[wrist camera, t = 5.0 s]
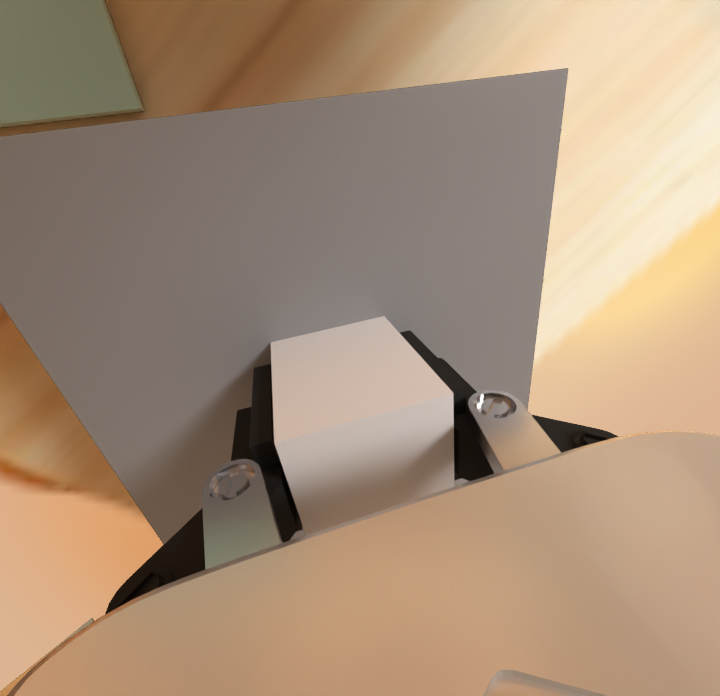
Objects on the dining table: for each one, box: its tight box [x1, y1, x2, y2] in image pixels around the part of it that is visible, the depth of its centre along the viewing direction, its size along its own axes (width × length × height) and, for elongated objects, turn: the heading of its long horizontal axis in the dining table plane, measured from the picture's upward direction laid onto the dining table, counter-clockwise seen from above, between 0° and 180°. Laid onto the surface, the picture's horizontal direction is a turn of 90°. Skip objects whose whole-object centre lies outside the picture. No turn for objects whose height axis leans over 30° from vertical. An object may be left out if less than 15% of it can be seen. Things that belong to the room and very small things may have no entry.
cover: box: [0, 68, 568, 544], centre depth 12 cm, size 17×17×9 cm
